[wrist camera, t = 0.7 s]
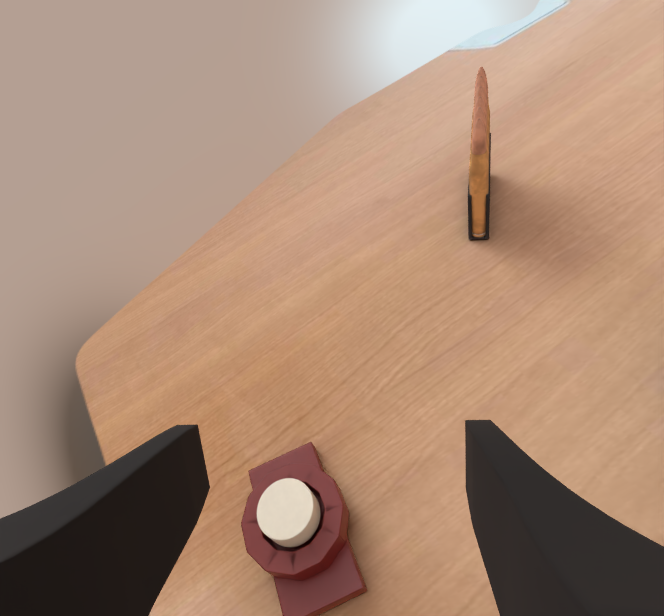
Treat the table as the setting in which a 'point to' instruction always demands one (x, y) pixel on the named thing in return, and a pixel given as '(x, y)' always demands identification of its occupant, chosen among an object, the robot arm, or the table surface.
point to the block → (314, 555)
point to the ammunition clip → (479, 163)
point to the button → (288, 512)
